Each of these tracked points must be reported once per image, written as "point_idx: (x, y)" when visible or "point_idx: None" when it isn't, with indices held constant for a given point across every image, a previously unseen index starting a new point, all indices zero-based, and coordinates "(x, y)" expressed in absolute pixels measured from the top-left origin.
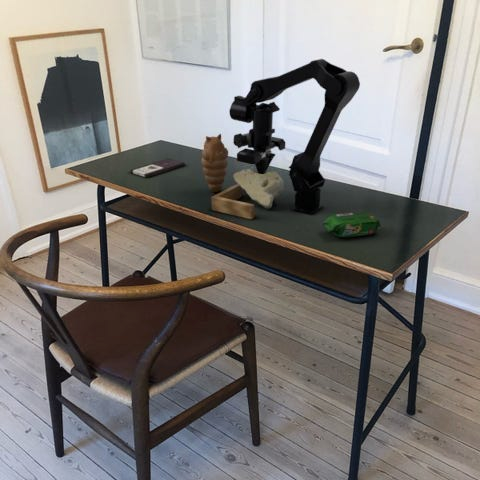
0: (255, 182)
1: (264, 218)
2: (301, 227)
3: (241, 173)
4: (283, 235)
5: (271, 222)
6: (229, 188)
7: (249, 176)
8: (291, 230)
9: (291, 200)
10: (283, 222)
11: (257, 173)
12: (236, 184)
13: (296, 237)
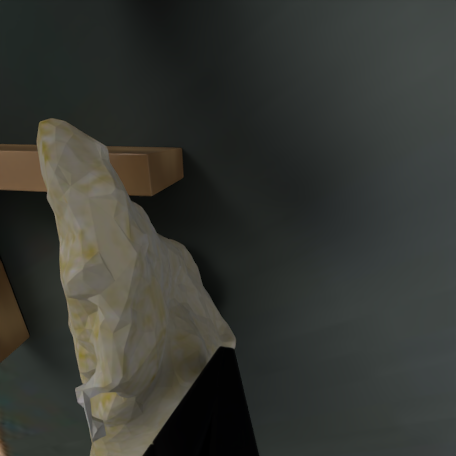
0: (80, 375)
1: (53, 363)
2: (82, 451)
3: (61, 246)
4: (11, 430)
5: (47, 388)
6: (11, 163)
7: (75, 341)
8: (49, 438)
9: (262, 387)
10: (73, 413)
11: (109, 425)
12: (116, 160)
13: (28, 452)
